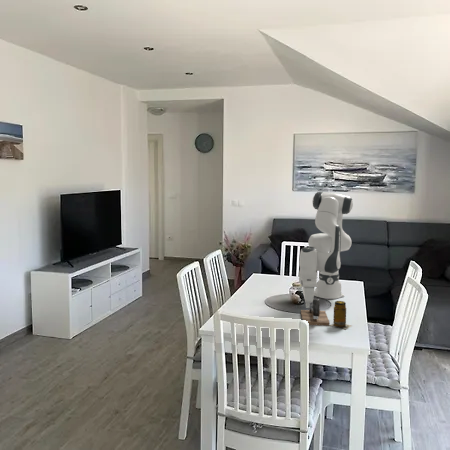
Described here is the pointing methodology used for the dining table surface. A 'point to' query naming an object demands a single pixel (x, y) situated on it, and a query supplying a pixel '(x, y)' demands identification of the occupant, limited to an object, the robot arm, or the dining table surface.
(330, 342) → the dining table surface
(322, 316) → the board
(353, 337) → the dining table surface
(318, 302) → the lever
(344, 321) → the condiment
